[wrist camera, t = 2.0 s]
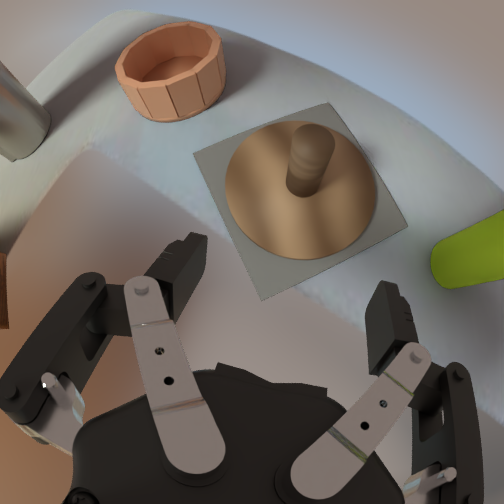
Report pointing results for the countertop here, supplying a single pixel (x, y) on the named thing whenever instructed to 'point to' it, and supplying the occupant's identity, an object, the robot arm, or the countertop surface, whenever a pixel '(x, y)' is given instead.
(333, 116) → the mat
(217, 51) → the bowl
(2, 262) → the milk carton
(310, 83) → the countertop surface
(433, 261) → the soap dispenser
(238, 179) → the lid
